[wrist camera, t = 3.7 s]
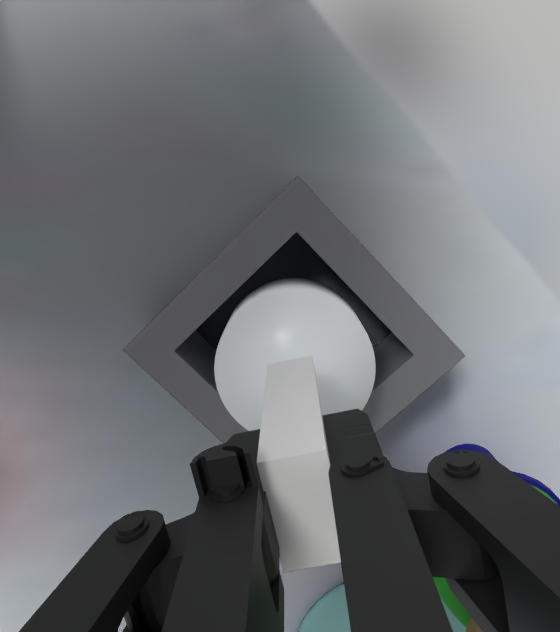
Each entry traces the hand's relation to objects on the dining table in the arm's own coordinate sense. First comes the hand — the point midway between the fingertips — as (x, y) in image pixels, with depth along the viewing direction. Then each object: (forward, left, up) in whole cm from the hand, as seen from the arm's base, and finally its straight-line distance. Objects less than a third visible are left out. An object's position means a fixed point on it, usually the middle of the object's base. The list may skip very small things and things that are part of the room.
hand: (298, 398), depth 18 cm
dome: (0, 0, -5) cm, 5 cm away
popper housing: (0, 0, -8) cm, 8 cm away
